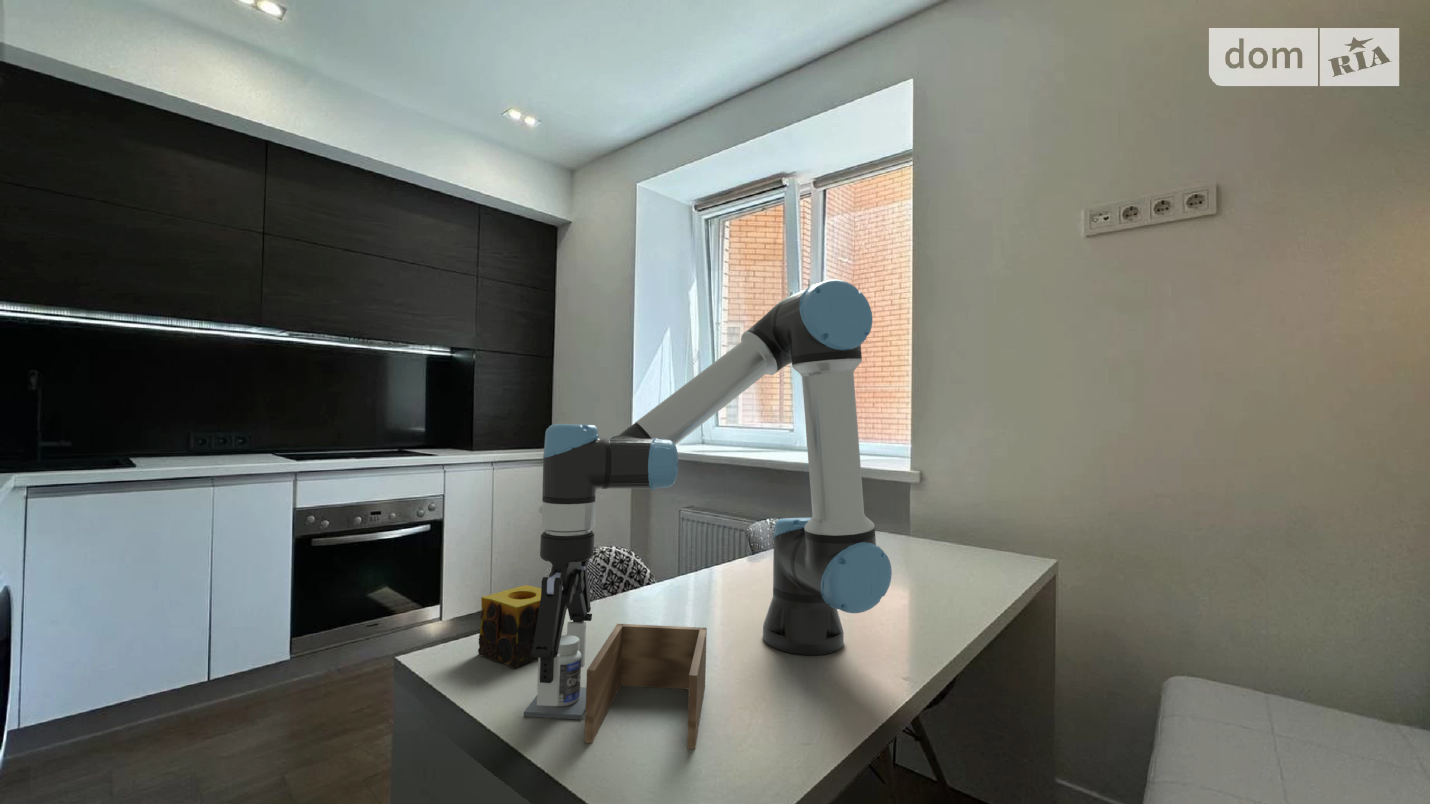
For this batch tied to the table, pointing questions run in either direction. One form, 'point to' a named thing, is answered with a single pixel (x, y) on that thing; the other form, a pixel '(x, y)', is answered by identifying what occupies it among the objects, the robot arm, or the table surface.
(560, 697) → the pill bottle
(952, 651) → the table surface
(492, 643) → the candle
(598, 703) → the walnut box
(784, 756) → the table surface
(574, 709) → the slate coaster
